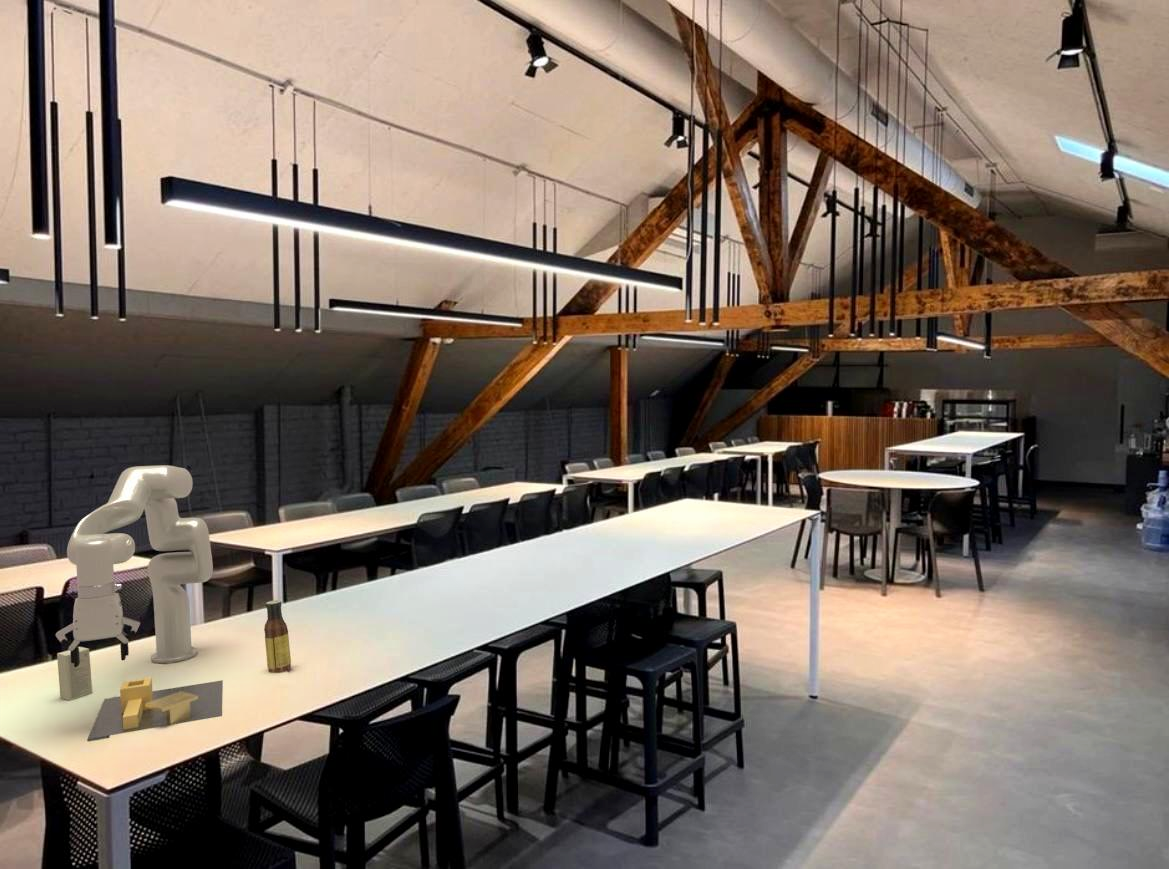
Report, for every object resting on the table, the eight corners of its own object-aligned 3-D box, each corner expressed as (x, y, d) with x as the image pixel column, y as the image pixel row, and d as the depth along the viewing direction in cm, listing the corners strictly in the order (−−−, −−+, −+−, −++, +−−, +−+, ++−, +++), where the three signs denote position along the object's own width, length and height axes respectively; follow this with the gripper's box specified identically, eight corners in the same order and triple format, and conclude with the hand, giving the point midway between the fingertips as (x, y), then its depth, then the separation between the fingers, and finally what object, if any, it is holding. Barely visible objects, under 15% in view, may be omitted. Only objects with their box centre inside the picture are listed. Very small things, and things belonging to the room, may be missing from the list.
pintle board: (104, 700, 210) (103, 678, 210) (222, 682, 221) (221, 661, 221) (86, 743, 183) (85, 718, 183) (222, 719, 194) (220, 696, 194)
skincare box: (83, 690, 218) (80, 646, 217) (93, 693, 216) (90, 648, 215) (59, 698, 212) (56, 653, 212) (68, 701, 210) (65, 655, 210)
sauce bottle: (294, 666, 232) (290, 598, 231) (287, 674, 226) (283, 603, 225) (271, 667, 232) (267, 599, 231) (263, 675, 225) (259, 604, 224)
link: (124, 704, 205) (123, 681, 205) (152, 700, 207) (151, 677, 207) (115, 731, 188) (113, 705, 188) (146, 725, 191) (144, 700, 190)
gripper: (139, 583, 199) (143, 652, 200) (56, 592, 192) (60, 663, 193) (136, 589, 193) (140, 660, 193) (50, 599, 185) (54, 672, 186)
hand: (100, 662), depth 193 cm, fingers open, 9 cm apart
